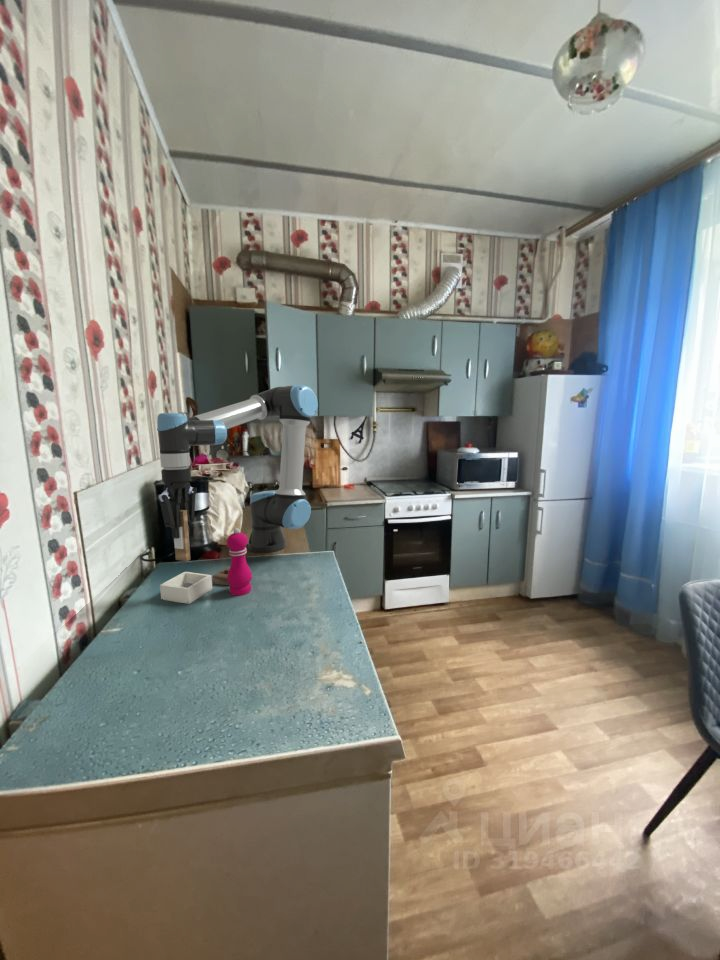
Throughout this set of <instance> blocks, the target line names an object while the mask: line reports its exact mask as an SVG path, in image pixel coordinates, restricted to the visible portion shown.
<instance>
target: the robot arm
mask: <svg viewBox="0 0 720 960" xmlns="http://www.w3.org/2000/svg"><path fill="white" fill-rule="evenodd" d="M316 395H317V394H315V393H314V391H313V389H312V388H311V387H310V386H307V385H303V384H302V385H301V384H294V385H287V386H275V387H272V388H270V389H268V390H265V391H262V392H259V393H257V394H253V395H251V396H250V397H249V398H248V399H246V400H243V401H240V402H237V403H233V404H229V405H227V406H222V407H220V408H217V409H213V410H210V411H207V412H203V413H201V414H198V415H194V416H192V417H187V414H186V413H183V412H182V413H181V412H163V413H162V412H160V413H159V414H157V420H156V422H157V423H156V425H157V427H156V431H157V435H158V446H159V447H158V448H159V457H160V459H159V460H160V467H161V468H162V469H161V470H160V472H161V481H162V482H163V484H164V486H163V487H164V488H163V492H162V493H161V494H157V495H156V499H157V501H158V502H159V505H160V510H161V514H162V518H163V519H162V520H163V522H164V526H165V527H166V528H167V527H169V528H171V533H172V534H171V535H172V536H171V537H172V539H173V543H174V545H173V546H174V549H175V548H177V549H184V542H183V529H182V527H180V510H187V519H188V533H189V534H190V532H191V531H190V525H192V523H193V521H194V520H195V512H196V511H195V509H196V494H197V493H198V492H197V491H198V488H197V487H192V486H191V483H190V481H191V480H192V475H191V473H192V471H191V468H190V466H191V457H190V447H195V446H196V447H197V446H216V445H222V444H224V443H225V442H226V440H227V438H228V430H229V429H232V428H234V427H237V426H239V425H242V424H243V425H244V424H246V423H248V422H251V421H253V420H256V419H257V420H264V419H265V420H266V419H267V418H277V417H278V419H279V422H280V423H281V424H282V434H281V435H282V438H281V455H280V470H279V472H280V473H279V484H278V485H279V487H278V489H275V490H273V489H272V490H264V491H259V492H255V493H252V494H251V495H250V497H249V498H250V499H249V508H250V517H251V518H250V519H251V521H250V522H251V531H250V532H251V533H250V535H249V540H248V543H247V547H248V550H249V551H250V552H254V553H258V554H259V553H262V554H263V553H264V554H266V553H272V552H273V553H274V552H277V551H280V550H283V549H284V548H285V547H286V546H287V539H286V537H285V534H284V532H283V530H282V528H285V529H286V530H287V529H288V530H299V529H301V528H303V527H304V526H305V525H306V524H307V522H308V521H309V520H310V516H311V512H312V506H311V504H310V502H309V501H308V500H307V499H306V496H307V495H306V493H305V491H304V490H303V480H304V479H303V477H304V461H305V449H306V448H305V444H306V431H307V427H308V425H310V424H311V418H312V417H313V416H314V415H316V413H317V411H318V407H319V404H318V403H319V402H318V398H317V396H316ZM189 546H190V547H191V545H190V544H189Z"/></svg>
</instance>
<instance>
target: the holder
mask: <svg viewBox="0 0 720 960" xmlns="http://www.w3.org/2000/svg"><path fill="white" fill-rule="evenodd" d="M229 569H230V567H225V568H223V569H222V570H220V571H218V572H216V573H215V574H213V575H212V584H216V583H217V584H216V585H225V586H229V587H230V586H231V585H230V584H229V583H228V581H227V576H228V572H229Z"/></svg>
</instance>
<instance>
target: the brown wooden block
mask: <svg viewBox="0 0 720 960" xmlns="http://www.w3.org/2000/svg"><path fill="white" fill-rule="evenodd" d="M180 527H182V529H183V542H184V549H177V548H175V547H174V554H175V556H174V557H175V560H176V561H183V562H187V561H191V549H190V547H191V545H190V532H189V533H188V519H187V510H180ZM189 545H190V546H189Z"/></svg>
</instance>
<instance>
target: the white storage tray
mask: <svg viewBox="0 0 720 960" xmlns="http://www.w3.org/2000/svg"><path fill="white" fill-rule="evenodd" d="M159 590H160V591H159V592H160V600H162V599H163V601H169V602H175V603H182V604H187V605H191V603H193V602H195V601H197V599H200V598H201V597H202V596H204V595H205V594H207V593H209V592H210V591H211V590H213V575H212V574H205V573H197V572H191V571H184V572H182V573H179V574H177V575H176V576H174V577H172V578H170V579H168V580H166V581H165V582H163V583H161V584H159Z"/></svg>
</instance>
